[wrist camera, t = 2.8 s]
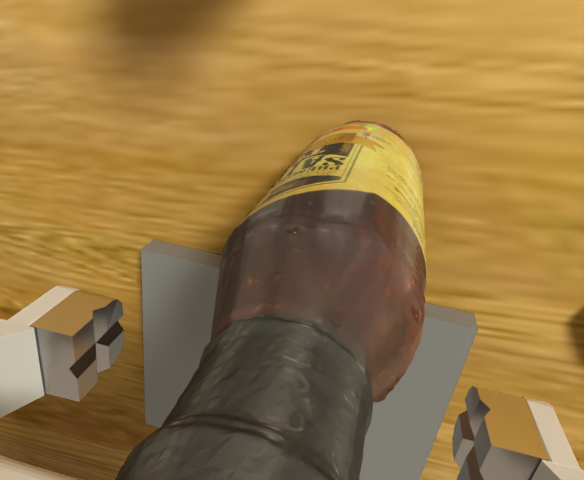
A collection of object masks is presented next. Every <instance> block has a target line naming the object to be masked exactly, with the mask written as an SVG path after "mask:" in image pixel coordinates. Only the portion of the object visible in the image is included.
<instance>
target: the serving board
mask: <svg viewBox="0 0 584 480" xmlns="http://www.w3.org/2000/svg"><path fill="white" fill-rule="evenodd" d="M221 256H222V255H218V254H214V253H209V252H205V251H201V250H196V249H192V248H188V247H183V246H179V245H175V244H171V243H166V242H162V241H158V240H152V241H151V242H150V243H149V244H147V245H146V246H145V247H143V248H142V249H141V268H142V310H143V352H144V395H145V424H149V425H152V426H155V427H158V428H160V427H161V426H162V424H163V422H164V421H165V419H166V418H167V416H168V415H169V413H170V412H171V411H172V409H173V408H174V406H175V404H176V402H177V400H178V398H179V397H180V395H181V394H182V393H183V391H184V390H185V389H186V387H187V385H188V384H189V382H190V380H191V379H192V377H193V375H194V373H195V372H196V370H197V369H198V367H199V362H200V359H201V357H202V353H203V350H204V348H205V347H206V346H207V345H208V344H209V343H210V339H211V331H212V323H213V315H214V308H215V301H216V293H217V286H218V279H219V271H220V262H221ZM424 310H425V316H424V324H423V332H422V335H421V338H420V344H419V347H418V349H417V350H416V352H415V357H414V359H413V361H412V362H411V364H410V365H409V367H408V369H407V370H406V372H405V374H404V375H403V376H402V377H401V379H400V380H399V382H398V383H397V384H396V385H395V386H394V389H393V390H392V391H390V392H389V393H388V394H387V396H386V398H385V399H384V400H383V401H380V402H373V412H372V419H371V424H370V426H369V429H368V431H367V433H366V435H365V441H364V449H363V461H362V466H361V471H360V476H359V478H360V480H419V479H420V476H421V474H422V471H423V468H424V466H425V463H426V461H427V458H428V456H429V453H430V451H431V448H432V445H433V443H434V440H435V438H436V435H437V433H438V430H439V428H440V425H441V422H442V420H443V417H444V415H445V412H446V410H447V407H448V405H449V402H450V399H451V397H452V394H453V392H454V389H455V387H456V384H457V382H458V379H459V377H460V374H461V371H462V369H463V366H464V364H465V361H466V359H467V356H468V354H469V351H470V348H471V346H472V343H473V341H474V338H475V336H476V333H477V331H478V327H477V323H476V319H475V315H474V314H473V313H468V312H464V311H460V310H455V309H451V308H447V307H442V306H438V305H434V304H430V303H425V304H424Z"/></svg>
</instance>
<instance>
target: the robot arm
mask: <svg viewBox="0 0 584 480" xmlns="http://www.w3.org/2000/svg"><path fill="white" fill-rule="evenodd" d="M122 315H123V308H122V303H121V302H120V301H119V300H118V299H115V298H111V297H107V296H104V295H100V294H96V293H92V292H89V291H85V290H79V289H76V288H73V287H69V286H65V285H60V286H56V287H54V288H53V289H51V290H50V291H48V292H47V293H46V294H44V295H43V296H41V297H40V298H38V299H37V300H36V301H34V302H33V303H31V304H30V305H28V306H27V307H26V308H24V309H23V310H21V311H20V312H18V313H17V314H16V315H14V316H13V317H11V318H10V319H8V320H3V319H0V418H1V417H3V416H5V415H7V414H9V413H11V412H13V411H15V410H17V409H19V408H21V407H23V406H25V405H26V404H28V403H30V402H32V401H34V400H36V399H38V398H40V397H42V396H44V393H46V394H50V395H54V396H58V397H62V398H66V399H70V400H74V401H78V402H80V401H81V400H82V399H83V398H84V396H85V395H86V394H87V393H88V392H89V391H90V390H91V389H92V387H93V386H94V385H95V384H96V383H97V382H98V373H99V372H101V371H104V370H106V369H109V368H110V367H111V366H112V365H113V364H114V362H115V361H116V360H117V358H118V356H119V354H120V352H121V350H122V347H123V342H124V330H123V328H122V327H121V325H120V324H119V322H118V320H119V319H120V318H121V317H122ZM465 402H466V407H467V411H465V412H463V413H461V414H459V416H458V419H457V421H456V424H455V428H454V434H453V456H454V461H455V462H456V463H457V464H458V466H459V467H460V468H461V470H460V473H459V475H458V478H457V480H584V470H581V469H580V467H579V465H578V462H577V460H576V458H575V456H574V454H573V451H572V449H571V447H570V445H569V443H568V440H567V438H566V436H565V434H564V431H563V429H562V427H561V425H560V423H559V420H558V418H557V416H556V414H555V412H554V409H553V407H552V406H551V405H550V404H549V403H548V402H544V401H539V400H535V399H530V398H525V397H518V396H514V395H509V394H505V393H501V392H497V391H493V390H488V389H484V388H480V387H476V386H472V387H471V389H470V390H469V391H468V394H467V396H466V398H465ZM0 480H78V479H75V478H72V477H68V476H65V475H62V474H59V473H56V472H52V471H49V470H46V469H43V468H39V467H36V466H33V465H30V464H26V463H23V462H20V461H17V460H13V459H10V458H7V457H4V456H0Z"/></svg>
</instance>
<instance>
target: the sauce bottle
mask: <svg viewBox="0 0 584 480" xmlns="http://www.w3.org/2000/svg"><path fill="white" fill-rule="evenodd" d="M426 275H427V270H426V246H425V231H424V208H423V182H422V177H421V171H420V168H419V165H418V162H417V160H416V158H415V156H414V154H413V152H412V150H411V149H410V147H409V145H408V144H407V143H406V141H405V140H404V138H402V137H401V136H400V134H399V133H398V132H397V131H395V130H393V129H391V128H389V127H388V126H386V125H383V124H379V123H375V122H368V121H366V122H363V121H359V120H358V121H352V122H348V123H345V124H343V125H339V126H336V127H334V128H331V129H329V130H327V131H325V132H324V133H323V134H321V135H320V136H318V137H317V138H316V139H315V140H314V141H313V142H312V143H311V144H310V145H309V146H308V147H307V148H306V150H305V151H304V152H303V153H302V154H301V155H300V156H299V157H298V158H297V160H296V161H295V162H294V163H293V164H292V165H291V166H289V168H288V169H287V170H286V171H285V173H284V174H283V175H282V176H281V177H280V179H279V180H278V181H277V182H276V183H275V184H274V185H273V186H272V187H271V189H269V191H268V192H267V193H266V195H265V196H264V197H263V198H262V199H261V200H260V201H259V202H258V204H257V205H256V206H255V207H254V208H253V209H252V210H251V211H250V212H249V213H248V215H247V216H246V217H245V218H244V220H243V221H242V222H241V223H240V224H239V225H238V226H237V228H236V229H235V230H234V231H233V233H232V234H231V236H230V237H229V239H228V241H227V242H226V244H225V246H224V249H223V252H222V256H221V262H220V271H219V279H218V286H217V293H216V301H215V308H214V315H213V323H212V331H211V339H210V343H209V344H208V345H207V346H206V347H205V348H204V350H203V353H202V357H201V359H200V362H199V367H198V369H197V370H196V372H195V373H194V375H193V377H192V379H191V380H190V382H189V384H188V385H187V387H186V389H185V390H184V391H183V393H182V394H181V395H180V397H179V398H178V400H177V402H176V404H175V406H174V408H173V409H172V411H171V412H170V413H169V415H168V416H167V418H166V419H165V421H164V422H163V424H162V426H161V427H160V428H159V429H157V430H156V431H155V432H153V433H152V434H151V435H150V436H148V437H147V438H146V439H145V440H143V441H142V442H141V443H140V444H139V445H138V446H136V447H135V448H134V449H133V451H132V452H131V453H130V454H129V456H128V457H127V459H126V461H125V463H124V465H123V466H122V468H121V469H120V471H119V473H118V475H117V477H116V479H115V480H360V478H359V476H360V471H361V466H362V461H363V449H364V441H365V435H366V433H367V431H368V429H369V426H370V424H371V419H372V412H373V402H380V401H383V400H384V399H385V398H386V396H387V394H388V393H389V392H390V391H392V390H393V389H394V386H395V385H396V384H397V383H398V382H399V380H400V379H401V377H402V376H403V375H404V374H405V372H406V370H407V369H408V367H409V365H410V364H411V362H412V361H413V359H414V357H415V352H416V350H417V349H418V347H419V344H420V338H421V335H422V332H423V324H424V316H425V310H424V304H425V297H424V290H425V286H426Z"/></svg>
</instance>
